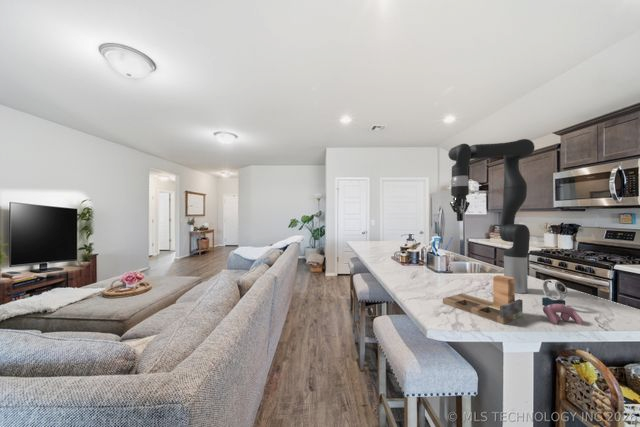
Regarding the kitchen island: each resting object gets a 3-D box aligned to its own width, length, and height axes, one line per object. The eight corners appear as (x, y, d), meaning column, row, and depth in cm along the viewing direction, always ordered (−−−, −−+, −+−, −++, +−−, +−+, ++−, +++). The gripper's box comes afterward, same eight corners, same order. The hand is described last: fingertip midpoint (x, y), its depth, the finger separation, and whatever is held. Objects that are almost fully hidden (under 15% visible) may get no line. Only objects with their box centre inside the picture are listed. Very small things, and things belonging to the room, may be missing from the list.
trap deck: (462, 297, 112) (462, 284, 112) (522, 315, 92) (522, 300, 92) (442, 303, 105) (442, 289, 105) (503, 324, 85) (503, 307, 85)
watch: (558, 310, 96) (558, 283, 96) (538, 303, 104) (537, 277, 104) (571, 310, 97) (570, 282, 97) (549, 302, 105) (549, 277, 105)
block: (500, 305, 97) (499, 275, 97) (514, 309, 93) (514, 277, 93) (493, 307, 95) (493, 276, 95) (508, 311, 90) (507, 279, 90)
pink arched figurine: (574, 325, 87) (565, 304, 90) (586, 324, 83) (576, 303, 86) (545, 324, 88) (538, 304, 91) (555, 324, 84) (547, 302, 87)
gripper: (459, 184, 113) (459, 221, 113) (475, 185, 119) (475, 221, 119) (444, 186, 120) (444, 221, 120) (460, 187, 126) (460, 220, 126)
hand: (460, 221), depth 120 cm, fingers closed
